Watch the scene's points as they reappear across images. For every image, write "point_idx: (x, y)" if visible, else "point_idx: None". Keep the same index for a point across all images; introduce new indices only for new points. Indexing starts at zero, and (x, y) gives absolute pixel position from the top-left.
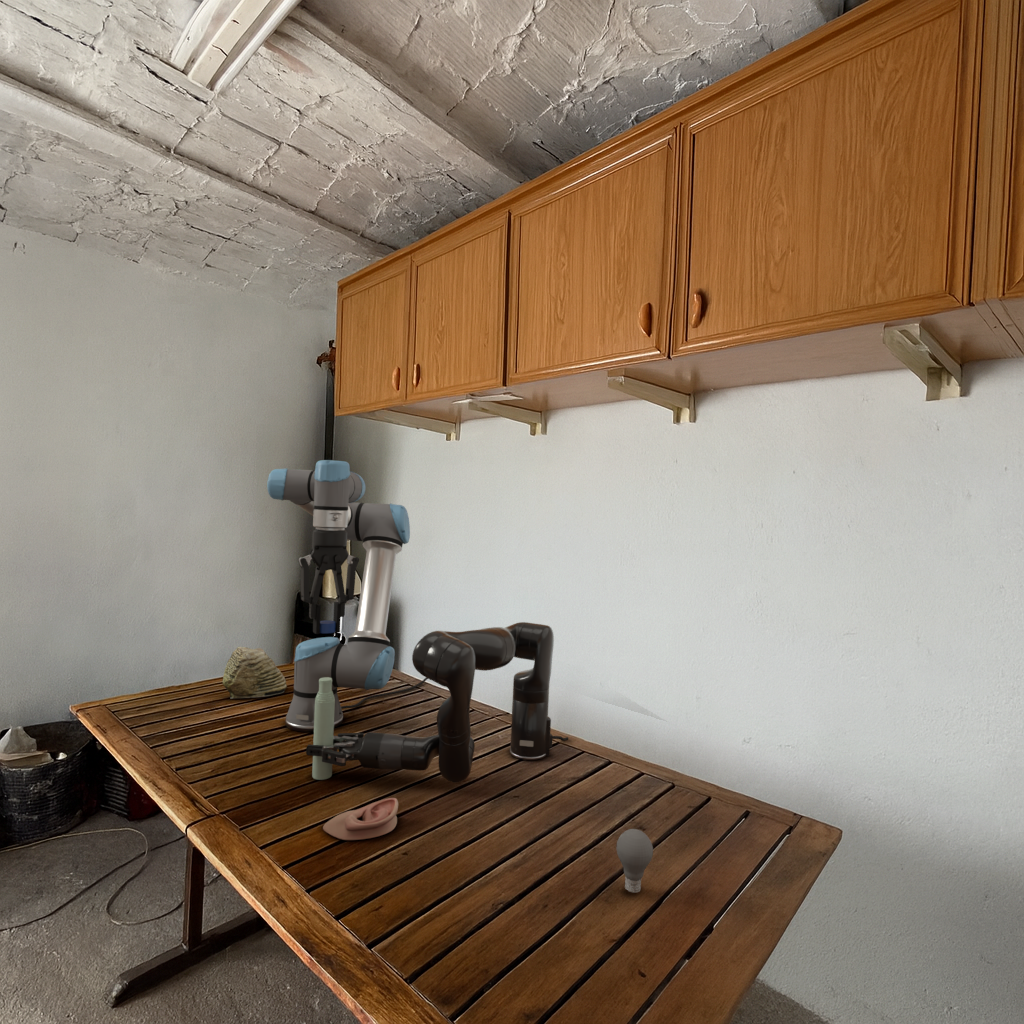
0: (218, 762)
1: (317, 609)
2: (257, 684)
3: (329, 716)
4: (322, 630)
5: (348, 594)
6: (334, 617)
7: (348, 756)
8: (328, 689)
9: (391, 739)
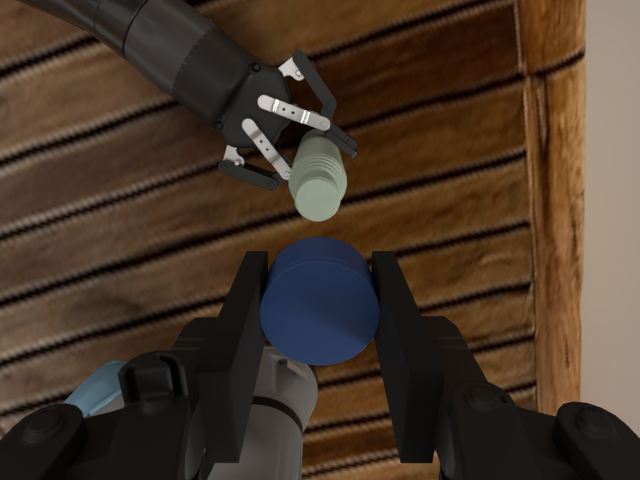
0: (463, 285)
1: (430, 342)
2: None
3: (311, 147)
4: (358, 256)
5: (56, 468)
6: (258, 348)
7: (285, 62)
8: (313, 172)
9: (172, 27)
